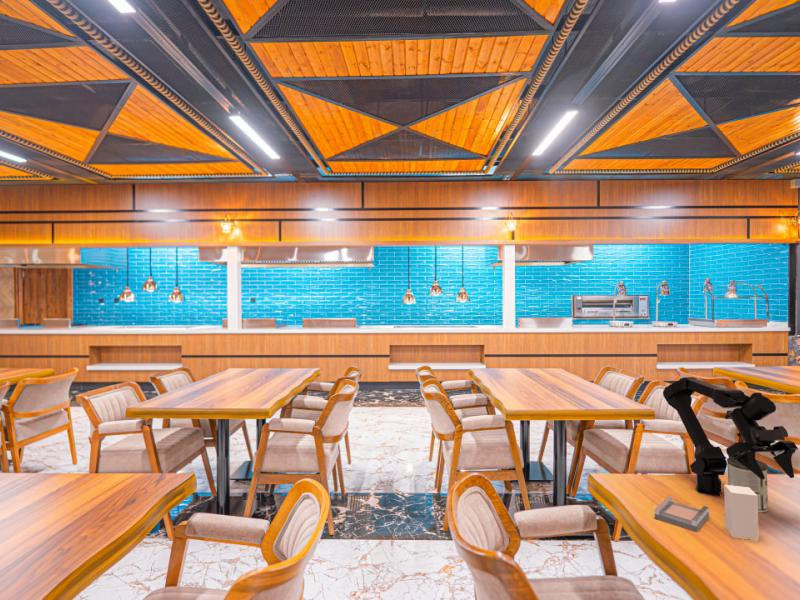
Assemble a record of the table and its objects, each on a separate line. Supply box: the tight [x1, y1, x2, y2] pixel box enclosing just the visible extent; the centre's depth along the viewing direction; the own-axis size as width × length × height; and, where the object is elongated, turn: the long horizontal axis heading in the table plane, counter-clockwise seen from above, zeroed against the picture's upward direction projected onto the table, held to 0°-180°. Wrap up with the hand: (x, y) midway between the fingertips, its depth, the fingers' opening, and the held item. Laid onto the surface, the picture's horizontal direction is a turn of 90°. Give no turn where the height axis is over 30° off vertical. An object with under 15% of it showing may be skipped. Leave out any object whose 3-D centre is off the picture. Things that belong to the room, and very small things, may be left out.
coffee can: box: [726, 457, 769, 514], centre depth 142 cm, size 10×10×14 cm
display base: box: [654, 496, 710, 533], centre depth 134 cm, size 13×11×3 cm
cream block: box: [723, 484, 760, 542], centre depth 124 cm, size 6×6×12 cm
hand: (778, 478), depth 127 cm, fingers open, 9 cm apart
